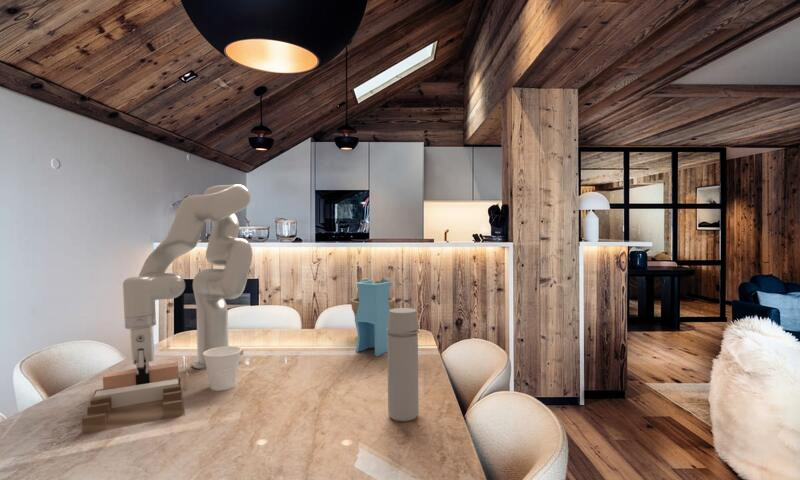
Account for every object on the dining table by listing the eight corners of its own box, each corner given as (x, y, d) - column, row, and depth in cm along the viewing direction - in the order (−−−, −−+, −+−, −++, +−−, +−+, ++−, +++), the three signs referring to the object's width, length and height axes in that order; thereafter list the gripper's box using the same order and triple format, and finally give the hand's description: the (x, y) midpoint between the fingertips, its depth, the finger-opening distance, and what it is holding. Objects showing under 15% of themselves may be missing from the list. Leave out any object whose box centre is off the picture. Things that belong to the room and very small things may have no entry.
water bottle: (409, 426, 97) (408, 314, 96) (380, 418, 101) (379, 311, 100) (429, 411, 104) (428, 308, 104) (401, 404, 109) (400, 305, 108)
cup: (249, 386, 123) (249, 347, 123) (225, 399, 114) (224, 357, 113) (221, 382, 126) (220, 345, 126) (195, 395, 117) (194, 354, 117)
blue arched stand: (392, 349, 160) (392, 281, 159) (377, 355, 151) (376, 284, 151) (371, 345, 165) (370, 280, 164) (355, 351, 157) (354, 283, 156)
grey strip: (178, 391, 116) (178, 378, 116) (178, 396, 112) (178, 383, 112) (96, 405, 107) (96, 391, 107) (94, 411, 104) (94, 396, 104)
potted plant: (345, 341, 172) (344, 278, 172) (358, 330, 191) (357, 273, 190) (391, 342, 169) (390, 278, 169) (399, 331, 188) (398, 274, 187)
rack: (93, 407, 109) (92, 390, 109) (182, 392, 118) (182, 376, 118) (79, 440, 92) (79, 419, 92) (185, 420, 101) (184, 401, 101)
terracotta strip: (178, 378, 128) (177, 361, 128) (178, 382, 125) (178, 365, 125) (105, 391, 120) (104, 373, 120) (103, 395, 116) (102, 377, 116)
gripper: (155, 325, 116) (158, 392, 117) (156, 314, 131) (159, 373, 131) (122, 328, 112) (125, 398, 113) (127, 317, 127) (130, 378, 128)
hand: (143, 384), depth 122 cm, fingers closed on terracotta strip, 4 cm apart
